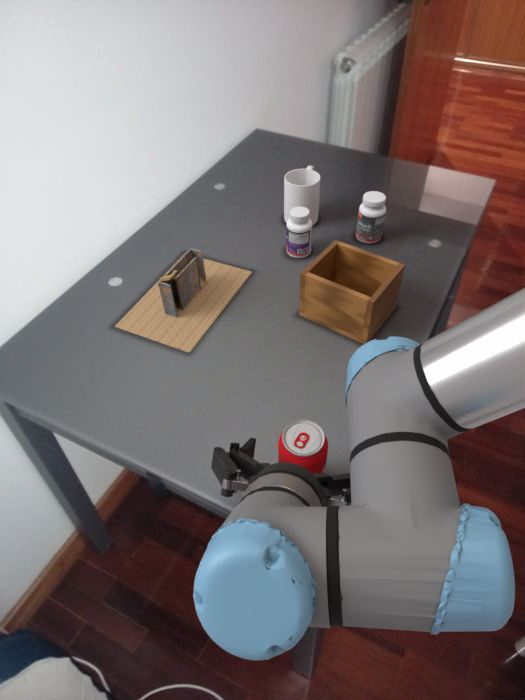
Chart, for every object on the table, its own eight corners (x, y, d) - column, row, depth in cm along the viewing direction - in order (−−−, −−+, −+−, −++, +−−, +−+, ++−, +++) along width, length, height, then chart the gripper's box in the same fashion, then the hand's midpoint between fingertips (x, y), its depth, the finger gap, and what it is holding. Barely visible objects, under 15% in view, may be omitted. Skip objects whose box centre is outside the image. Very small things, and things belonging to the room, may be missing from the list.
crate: (395, 307, 93) (405, 264, 85) (366, 345, 86) (373, 302, 79) (331, 281, 99) (335, 239, 91) (298, 315, 92) (300, 272, 85)
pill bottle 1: (292, 241, 108) (292, 202, 101) (314, 247, 107) (317, 207, 100) (282, 255, 105) (282, 215, 98) (305, 261, 103) (307, 221, 96)
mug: (312, 231, 111) (315, 188, 103) (279, 225, 113) (279, 183, 105) (326, 204, 119) (329, 162, 111) (294, 199, 121) (295, 158, 113)
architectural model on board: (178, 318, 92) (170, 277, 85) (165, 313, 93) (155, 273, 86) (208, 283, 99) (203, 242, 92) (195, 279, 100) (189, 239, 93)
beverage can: (330, 477, 69) (337, 428, 60) (311, 513, 65) (315, 467, 57) (291, 457, 71) (293, 408, 63) (270, 492, 68) (268, 445, 59)
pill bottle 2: (350, 236, 109) (354, 195, 102) (367, 227, 112) (373, 186, 104) (369, 247, 106) (375, 206, 99) (386, 237, 108) (394, 196, 101)
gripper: (144, 526, 46) (208, 467, 67) (419, 584, 42) (394, 502, 63) (154, 448, 46) (215, 413, 66) (432, 498, 41) (403, 445, 62)
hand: (302, 456), depth 65 cm, fingers open, 13 cm apart
